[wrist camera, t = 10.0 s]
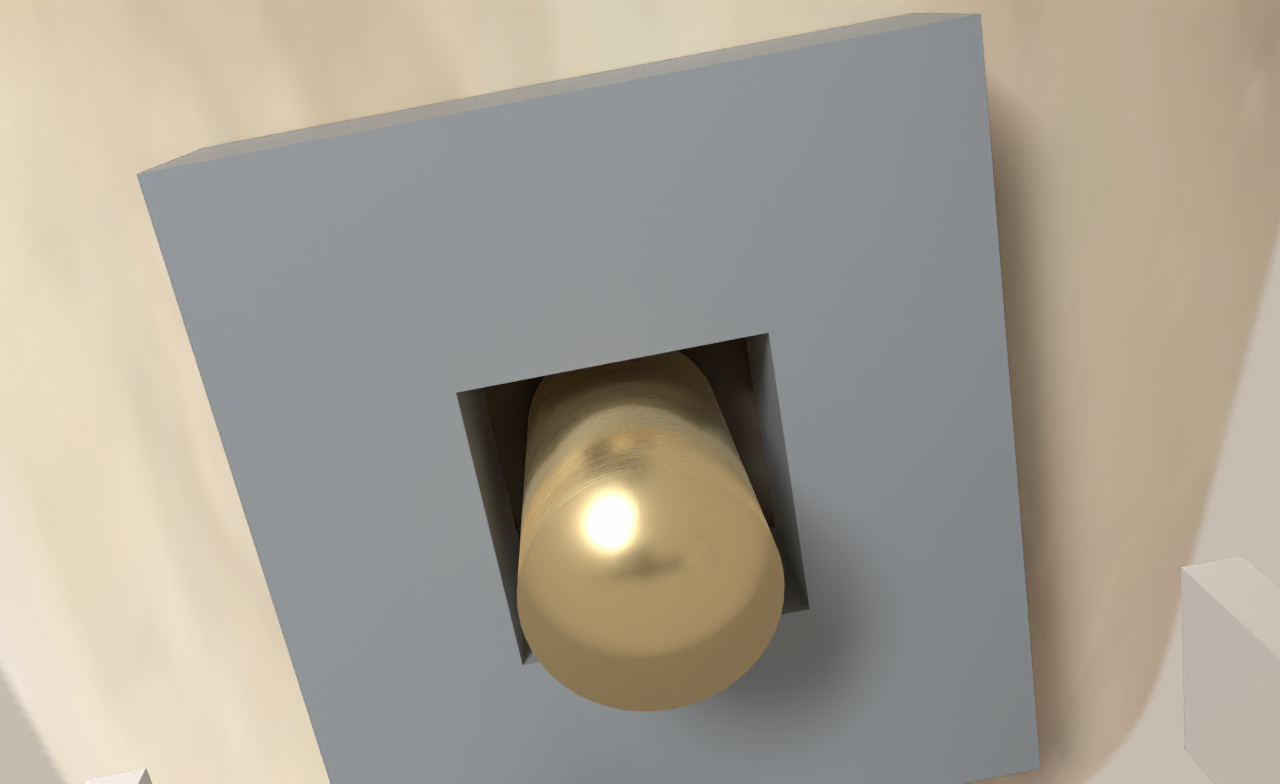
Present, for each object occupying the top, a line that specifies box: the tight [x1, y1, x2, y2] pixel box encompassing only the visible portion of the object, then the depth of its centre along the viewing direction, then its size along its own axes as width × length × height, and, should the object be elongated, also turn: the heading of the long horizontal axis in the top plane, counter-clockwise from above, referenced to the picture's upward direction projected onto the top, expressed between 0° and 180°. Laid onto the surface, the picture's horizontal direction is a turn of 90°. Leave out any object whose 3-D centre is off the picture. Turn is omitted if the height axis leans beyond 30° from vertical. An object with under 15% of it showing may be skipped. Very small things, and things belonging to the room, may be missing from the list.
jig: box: [137, 13, 1040, 784], centre depth 25 cm, size 16×15×4 cm
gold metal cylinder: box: [517, 350, 785, 712], centre depth 23 cm, size 4×4×8 cm
